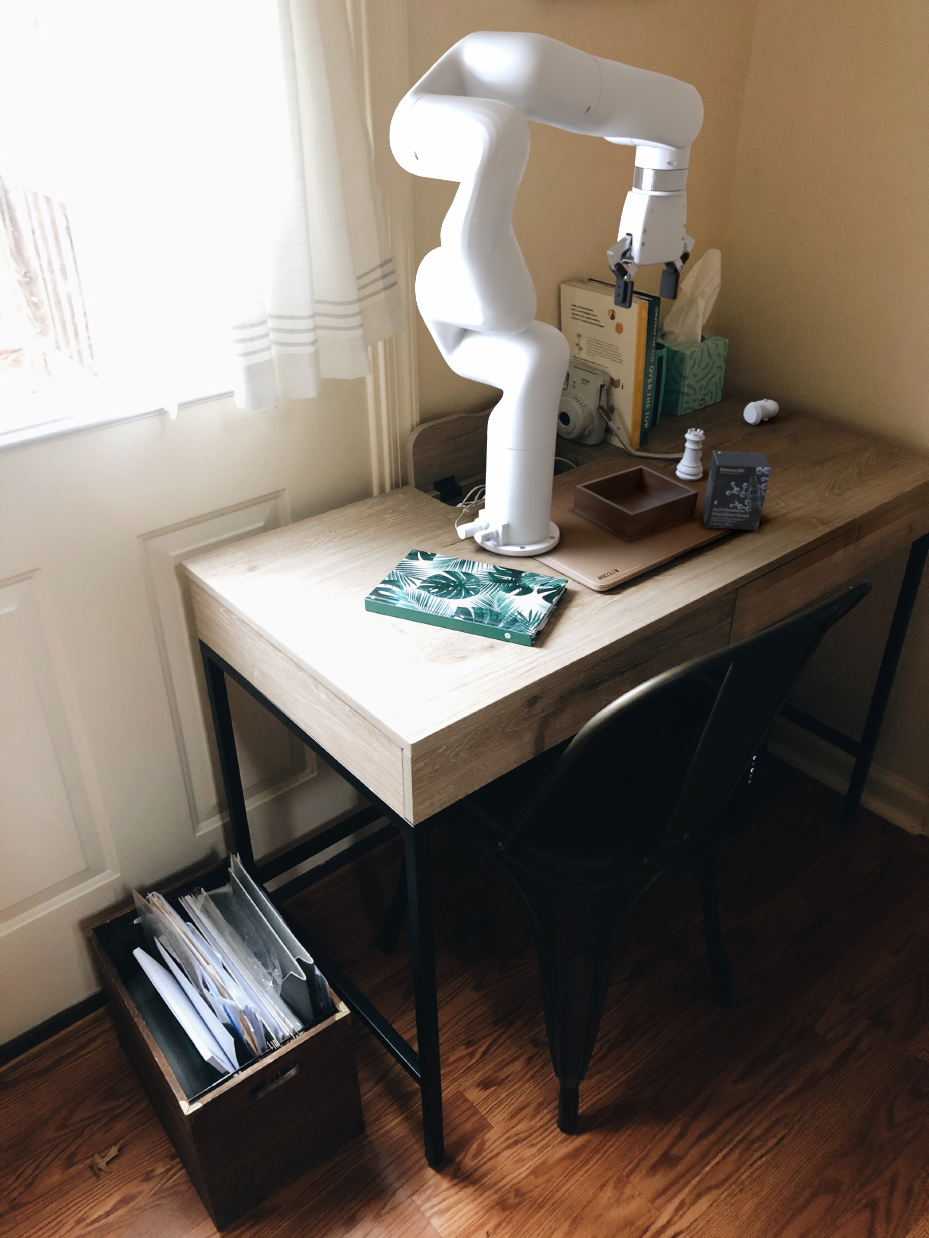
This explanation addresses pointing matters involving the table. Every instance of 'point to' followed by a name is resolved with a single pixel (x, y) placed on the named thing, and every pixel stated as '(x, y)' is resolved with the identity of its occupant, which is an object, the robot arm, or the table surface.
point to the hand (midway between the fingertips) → (645, 302)
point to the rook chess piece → (691, 457)
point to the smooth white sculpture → (760, 411)
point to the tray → (635, 502)
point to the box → (736, 490)
